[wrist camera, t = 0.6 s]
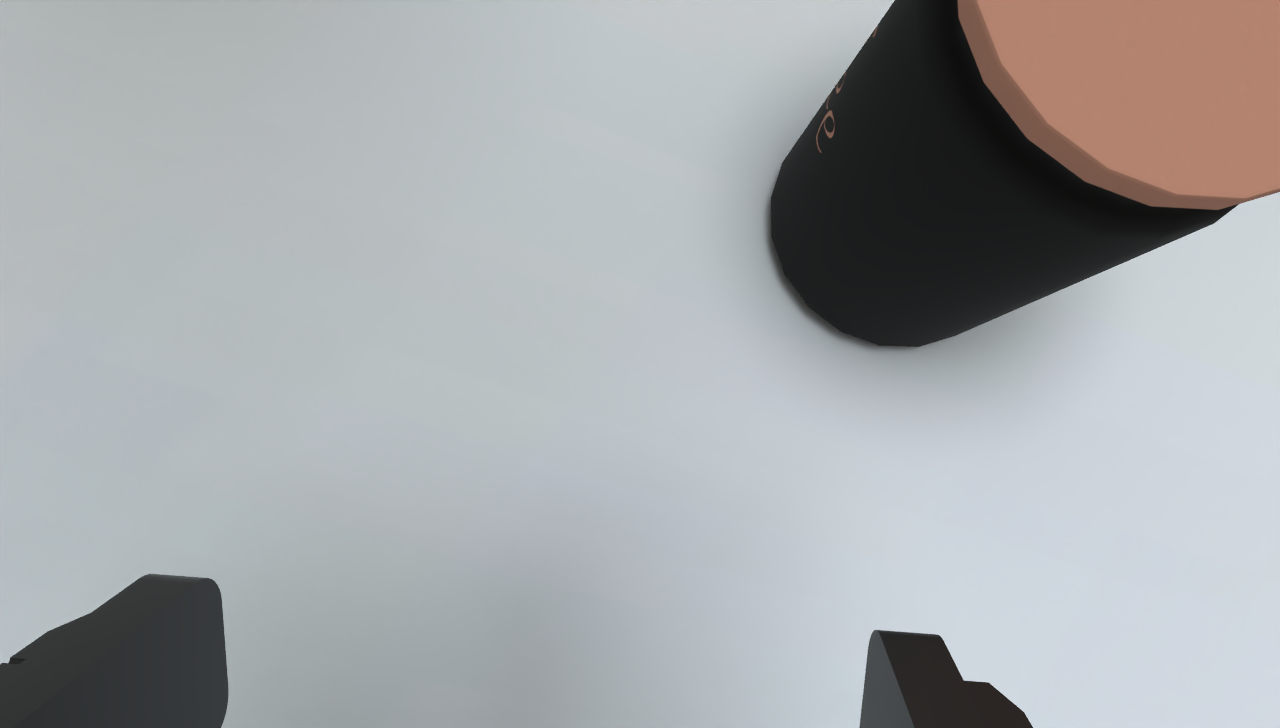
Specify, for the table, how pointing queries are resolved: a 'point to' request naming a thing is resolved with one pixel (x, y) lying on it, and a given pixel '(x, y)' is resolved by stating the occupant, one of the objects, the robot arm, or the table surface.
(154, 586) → the robot arm
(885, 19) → the coffee jar
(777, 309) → the table surface
